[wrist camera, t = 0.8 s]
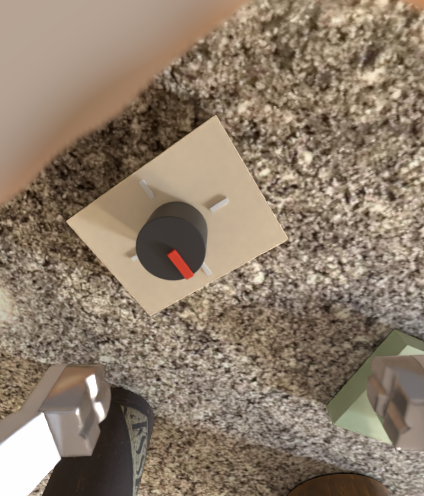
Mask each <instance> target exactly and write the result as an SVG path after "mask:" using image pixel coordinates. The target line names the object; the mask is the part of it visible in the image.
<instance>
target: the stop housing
mask: <svg viewBox="0 0 424 496" xmlns="http://www.w3.org/2000/svg"><path fill="white" fill-rule="evenodd" d="M399 355H424V341H422V340H419V339H417V338H414V337H412V336H409V335H407V334H405V333H402V332H400V331H397V330H395V329H394V330H393V331H392V332H391V333H390V334H389V335H388V337H387V338H386V339H385V340H384V341H383V342H382V343H381V344H380V346H379V347H378V348H377V349H376V350H375V351H374V352H373V354H372V355H371V356H370V357H369V358H368V359H367V360H366V361H365V363H364V364H363V365H362V366H361V367H360V368H359V369H358V371H357V372H356V373H355V374H354V375H353V376H352V377H351V378H350V380H349V381H348V382H347V383H346V384H345V385H344V386H343V388H342V389H341V390H340V391H339V392H338V393H337V394H336V395H335V397H334V398H333V399H332V400H331V401H330V402H329V403H328V405H327V406H326V408H327V410H328V413H329V416H330V418H331V421H332V423H333V425H335V426H338V427H341V428H344V429H347V430H350V431H353V432H356V433H359V434H362V435H365V436H368V437H371V438H374V439H377V440H380V441H383V442H386V443H389V444H392V443H391V441H390V439H389V437H388V435H387V434H386V432H385V430H384V428H383V421H384V419H383V418H382V417H381V416H379V415H378V414H377V413H375V412H374V410H373V408H372V406H371V404H370V402H369V399H368V396H367V390H366V383H367V377H369V376H370V375H371V374H372V373H373V371H372V369H371V367H370V364H371V360H372V359H373V357H374V356H399ZM392 445H393V444H392Z"/></svg>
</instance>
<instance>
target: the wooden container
mask: <svg viewBox="0 0 424 496" xmlns="http://www.w3.org/2000/svg"><path fill="white" fill-rule="evenodd" d="M287 496H391V495H390V493H389V491H388V490H387V488H386V487H385V486H384V485H382V484H381V483H380V482H378V481H376V480H374V479H372V478H369V477H365V476H361V475H355V474H333V475H326V476H321V477H318V478H314V479H311V480H309V481H306V482H304V483H302V484H301V485H299V486H297V487H296V488H295V489H293V490H292V491H291V492H290V493H289V494H288V495H287Z"/></svg>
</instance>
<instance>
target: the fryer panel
mask: <svg viewBox="0 0 424 496" xmlns="http://www.w3.org/2000/svg"><path fill="white" fill-rule="evenodd" d="M169 202H184V203H187V204H189V205H191V206H193V207H195V208H196V209H197V210H198V211H199V212H200V213H201V214H202V215H203V217H204V218H205V221H206V223H207V228H208V236H207V248H206V257H205V260H204V262H203V264H202V266H201V268H200V269H199V270H198V271H197V272H196V273H195V274H194V276H193V277H191V278H189V279H188V280H186V279H182V280H176V281H170V280H164V279H160V278H158V277H156V276H154V275H152V274H151V273H149V272H148V271H147V270H146V269H145V268H144V267H143V266H142V264H141V263H140V261H139V259H138V257H137V253H136V239H137V236H138V234H139V232H140V230H141V229H142V227H143V226H144V224H145V223H146V222H147V220H148V219H149V217H150V216H151V214H152V213H153V212H154V211H155V210H156V209H157V208H158V207H159V206H161V205H163V204H165V203H169ZM66 222H67V223H68V224H69V226H70V227H71V228H72V229H73V230H74V231H75V232H76V233H77V235H78V236H79V237H80V238H81V239H82V240H83V241H84V242H85V244H86V245H87V246H88V247H89V248H90V249H91V250H92V252H93V253H94V254H95V255H96V256H97V257H98V258H99V259H100V261H101V262H102V263H103V264H104V265H105V266H106V267H107V268H108V270H109V271H110V272H111V273H112V274H113V275H114V276H115V277H116V279H117V280H118V281H119V282H120V283H121V284H122V285H123V286H124V288H125V289H126V290H127V291H128V292H129V293H130V294H131V295H132V297H133V298H134V299H135V300H136V301H137V302H138V303H139V304H140V306H141V307H142V308H143V309H144V310H145V311H146V312H147V313H148V315H149V316H151V315H153V314H155V313H157V312H158V311H160V310H162V309H164V308H166V307H167V306H169V305H171V304H173V303H175V302H176V301H178V300H180V299H182V298H184V297H185V296H187V295H189V294H191V293H193V292H194V291H196V290H198V289H200V288H202V287H203V286H205V285H207V284H209V283H211V282H212V281H214V280H216V279H218V278H220V277H221V276H223V275H225V274H227V273H229V272H230V271H232V270H234V269H236V268H238V267H239V266H241V265H243V264H245V263H247V262H248V261H250V260H252V259H254V258H256V257H257V256H259V255H261V254H263V253H265V252H266V251H268V250H270V249H272V248H274V247H275V246H277V245H279V244H281V243H283V242H284V241H286V240H288V237H287V236H286V234H285V232H284V231H283V229H282V227H281V225H280V224H279V222H278V220H277V219H276V217H275V215H274V213H273V212H272V210H271V208H270V207H269V205H268V203H267V201H266V200H265V198H264V196H263V195H262V193H261V191H260V189H259V188H258V186H257V184H256V183H255V181H254V179H253V177H252V176H251V174H250V172H249V171H248V169H247V167H246V165H245V164H244V162H243V160H242V159H241V157H240V155H239V153H238V152H237V150H236V148H235V147H234V145H233V143H232V142H231V140H230V138H229V136H228V135H227V133H226V131H225V130H224V128H223V126H222V124H221V123H220V121H219V119H218V118H217V116H216V115H214V116H213V117H211V118H210V119H208V120H207V121H206V122H204V123H203V124H201V125H200V126H199V127H197V128H196V129H194V130H193V131H192V132H190V133H189V134H187V135H186V136H185V137H183V138H182V139H180V140H179V141H178V142H176V143H175V144H173V145H172V146H171V147H169V148H168V149H166V150H165V151H163V152H162V153H161V154H159V155H158V156H156V157H155V158H154V159H152V160H151V161H149V162H148V163H147V164H145V165H144V166H142V167H141V168H140V169H138V170H137V171H135V172H134V173H133V174H131V175H130V176H128V177H127V178H126V179H124V180H123V181H121V182H120V183H119V184H117V185H116V186H114V187H113V188H112V189H110V190H109V191H107V192H106V193H105V194H103V195H102V196H100V197H99V198H98V199H96V200H95V201H93V202H92V203H91V204H89V205H88V206H86V207H85V208H84V209H82V210H81V211H79V212H78V213H77V214H75V215H74V216H72V217H71V218H70V219H68V220H67V221H66Z"/></svg>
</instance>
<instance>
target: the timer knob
mask: <svg viewBox="0 0 424 496" xmlns="http://www.w3.org/2000/svg"><path fill="white" fill-rule="evenodd" d="M207 236H208V228H207V223H206V221H205V218H204V217H203V215H202V214H201V213H200V212H199V211H198V210H197V209H196V208H195V207H193V206H191V205H189V204H187V203H184V202H169V203H165V204H163V205H161V206H159V207H158V208H157V209H156V210H155V211H154V212H153V213H152V214H151V216H150V217H149V219H148V220H147V222H146V223H145V224H144V226H143V227H142V229H141V230H140V232H139V234H138V236H137V239H136V253H137V257H138V259H139V261H140V263H141V264H142V266H143V267H144V268H145V269H146V270H147V271H148V272H149V273H151V274H152V275H154V276H156V277H158V278H160V279H164V280H170V281H176V280H182V279H186V280H188V279H189V278H191V277H193V276H194V274H195V273H196V272H197V271H198V270H199V269H200V268H201V266H202V264H203V262H204V260H205V257H206V248H207Z"/></svg>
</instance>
